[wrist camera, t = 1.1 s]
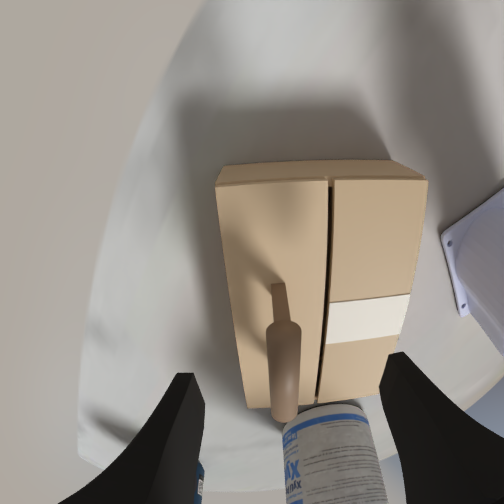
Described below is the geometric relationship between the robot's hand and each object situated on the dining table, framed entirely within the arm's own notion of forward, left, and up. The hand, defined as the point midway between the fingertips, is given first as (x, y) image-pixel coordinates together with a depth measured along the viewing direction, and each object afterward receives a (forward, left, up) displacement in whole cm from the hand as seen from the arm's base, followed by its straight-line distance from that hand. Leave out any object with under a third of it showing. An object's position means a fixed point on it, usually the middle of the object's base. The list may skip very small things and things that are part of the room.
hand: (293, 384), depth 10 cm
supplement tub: (-21, +6, -10) cm, 24 cm away
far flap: (-2, +1, -6) cm, 6 cm away
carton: (-3, -1, -10) cm, 10 cm away
